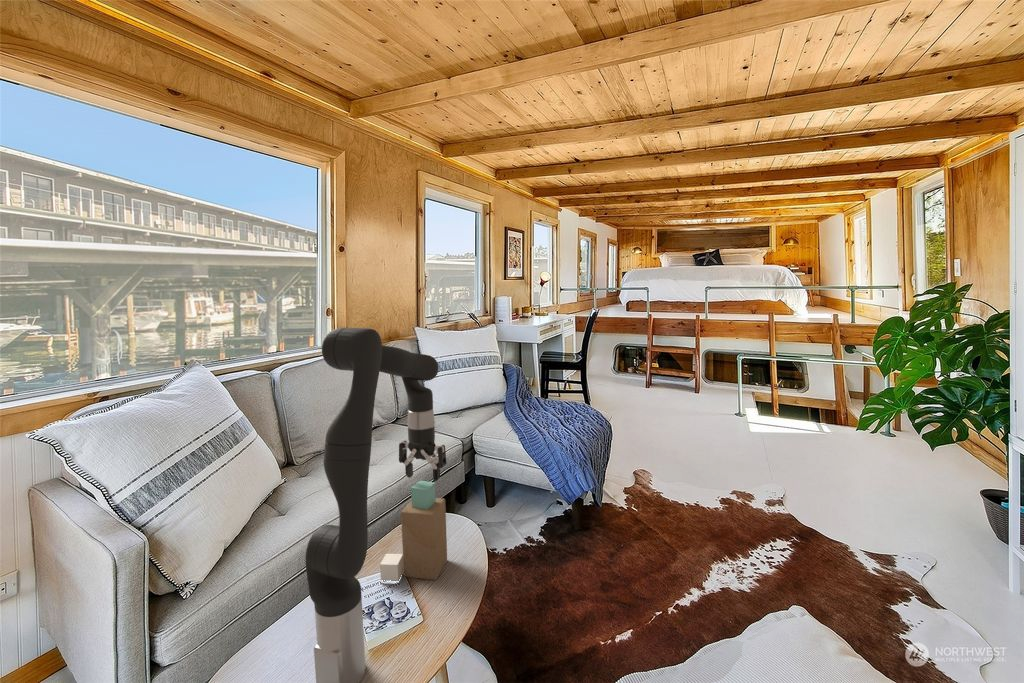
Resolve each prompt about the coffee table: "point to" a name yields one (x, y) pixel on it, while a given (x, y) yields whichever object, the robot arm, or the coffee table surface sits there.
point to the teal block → (423, 495)
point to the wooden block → (424, 540)
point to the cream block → (392, 567)
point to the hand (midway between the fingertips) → (423, 478)
